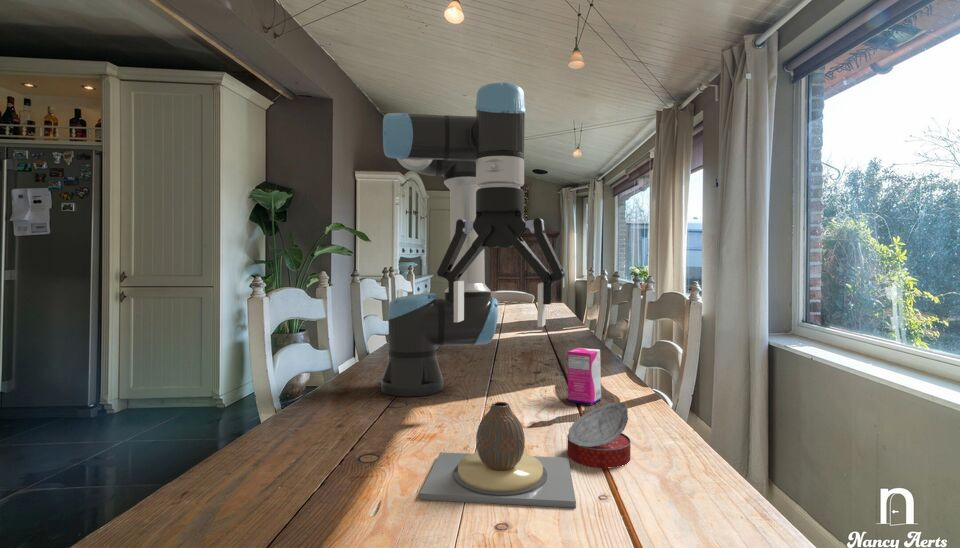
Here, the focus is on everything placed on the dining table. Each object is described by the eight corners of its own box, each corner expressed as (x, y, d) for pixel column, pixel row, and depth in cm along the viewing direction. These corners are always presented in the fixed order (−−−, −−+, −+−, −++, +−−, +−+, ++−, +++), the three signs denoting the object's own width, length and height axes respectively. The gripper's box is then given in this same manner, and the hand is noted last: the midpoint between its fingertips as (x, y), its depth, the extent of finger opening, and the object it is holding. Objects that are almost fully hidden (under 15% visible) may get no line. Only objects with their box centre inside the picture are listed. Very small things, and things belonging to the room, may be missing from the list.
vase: (504, 480, 64) (504, 414, 64) (466, 466, 69) (465, 404, 69) (534, 464, 70) (534, 403, 70) (497, 452, 74) (496, 394, 74)
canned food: (625, 497, 74) (631, 451, 69) (560, 479, 78) (560, 435, 73) (633, 441, 83) (638, 397, 78) (574, 427, 87) (575, 385, 82)
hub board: (440, 457, 77) (440, 444, 77) (568, 462, 75) (568, 450, 75) (419, 499, 63) (419, 484, 63) (575, 507, 61) (575, 491, 61)
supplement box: (577, 395, 114) (577, 346, 114) (601, 400, 110) (602, 349, 110) (566, 401, 109) (566, 350, 109) (591, 406, 106) (591, 353, 105)
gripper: (416, 188, 77) (417, 322, 78) (577, 181, 69) (575, 331, 70) (435, 193, 84) (436, 316, 85) (583, 188, 76) (581, 324, 77)
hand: (499, 323), depth 77 cm, fingers open, 13 cm apart
